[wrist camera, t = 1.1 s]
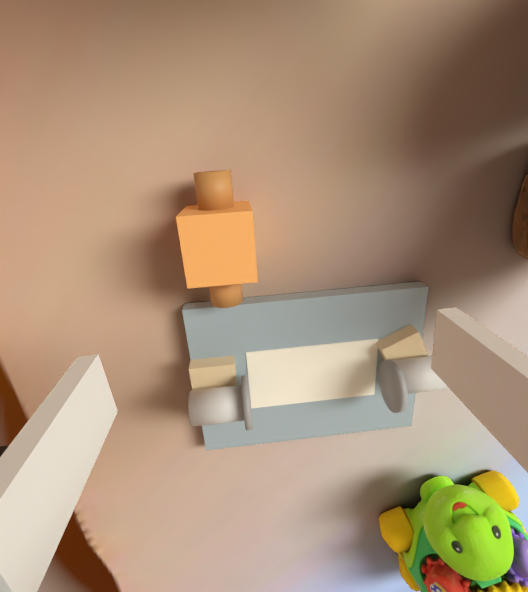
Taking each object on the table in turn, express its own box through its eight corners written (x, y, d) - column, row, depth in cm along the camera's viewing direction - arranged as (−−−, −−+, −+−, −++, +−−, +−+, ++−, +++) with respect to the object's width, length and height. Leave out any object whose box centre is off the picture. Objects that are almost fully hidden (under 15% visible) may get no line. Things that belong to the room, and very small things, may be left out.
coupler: (199, 291, 30) (192, 320, 25) (182, 172, 27) (169, 176, 21) (255, 286, 31) (260, 313, 25) (245, 168, 27) (249, 170, 21)
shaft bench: (184, 303, 31) (172, 340, 24) (432, 280, 32) (481, 309, 26) (206, 439, 37) (201, 497, 30) (415, 414, 38) (451, 465, 32)
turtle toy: (484, 414, 39) (582, 512, 28) (515, 530, 48) (598, 638, 37) (349, 471, 41) (392, 584, 30) (402, 573, 49) (451, 690, 38)
